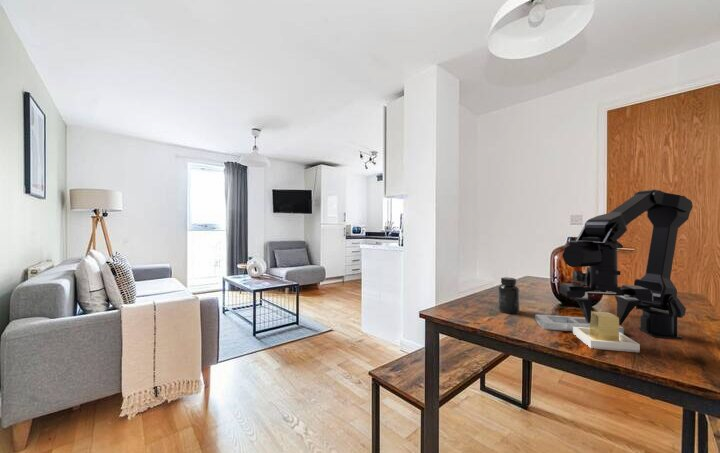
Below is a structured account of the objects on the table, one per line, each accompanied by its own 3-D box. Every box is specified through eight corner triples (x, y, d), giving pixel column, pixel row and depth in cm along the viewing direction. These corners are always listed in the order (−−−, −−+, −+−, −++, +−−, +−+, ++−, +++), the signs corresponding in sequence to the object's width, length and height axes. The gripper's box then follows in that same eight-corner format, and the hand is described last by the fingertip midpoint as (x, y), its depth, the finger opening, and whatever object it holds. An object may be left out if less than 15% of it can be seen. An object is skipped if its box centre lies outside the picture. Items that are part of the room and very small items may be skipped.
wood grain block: (609, 337, 79) (608, 312, 78) (619, 344, 74) (618, 317, 74) (589, 336, 80) (589, 311, 80) (598, 343, 75) (598, 316, 75)
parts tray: (615, 336, 81) (615, 329, 81) (639, 352, 71) (639, 344, 71) (573, 333, 83) (572, 326, 83) (590, 348, 73) (590, 340, 73)
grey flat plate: (607, 325, 89) (607, 318, 89) (623, 335, 82) (623, 327, 82) (535, 320, 95) (535, 314, 95) (543, 329, 87) (543, 322, 87)
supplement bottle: (522, 314, 101) (521, 280, 101) (501, 313, 102) (500, 280, 102) (515, 308, 108) (515, 276, 107) (496, 308, 109) (495, 276, 109)
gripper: (626, 262, 82) (626, 316, 82) (551, 260, 87) (552, 312, 87) (654, 268, 71) (655, 330, 72) (567, 266, 76) (568, 324, 76)
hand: (603, 323), depth 77 cm, fingers open, 7 cm apart
